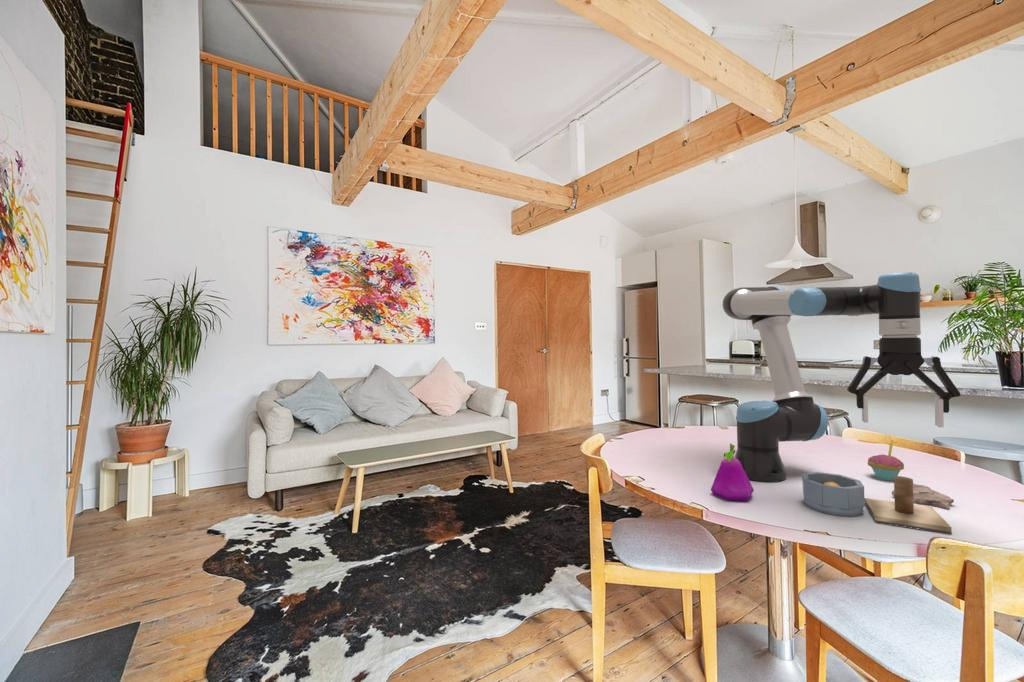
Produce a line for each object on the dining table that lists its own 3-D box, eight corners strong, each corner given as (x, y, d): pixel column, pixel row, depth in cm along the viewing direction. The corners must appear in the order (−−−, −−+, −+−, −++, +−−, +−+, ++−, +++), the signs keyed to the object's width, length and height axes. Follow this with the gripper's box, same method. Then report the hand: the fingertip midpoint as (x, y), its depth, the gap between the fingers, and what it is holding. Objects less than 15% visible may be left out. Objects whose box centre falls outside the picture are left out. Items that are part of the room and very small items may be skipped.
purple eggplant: (703, 490, 125) (702, 439, 125) (738, 488, 126) (737, 437, 126) (725, 504, 114) (724, 448, 114) (764, 502, 115) (762, 447, 115)
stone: (955, 500, 114) (955, 490, 114) (952, 513, 106) (952, 502, 106) (897, 489, 123) (897, 479, 123) (890, 500, 115) (890, 490, 115)
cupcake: (890, 474, 135) (889, 436, 135) (912, 483, 126) (911, 442, 126) (861, 473, 136) (860, 436, 136) (881, 482, 127) (880, 443, 127)
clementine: (822, 500, 110) (822, 483, 110) (820, 494, 114) (820, 478, 114) (844, 503, 108) (843, 486, 108) (841, 497, 111) (841, 481, 111)
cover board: (875, 520, 101) (874, 482, 101) (864, 501, 112) (863, 467, 112) (951, 531, 94) (950, 491, 94) (931, 510, 105) (930, 474, 105)
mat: (875, 522, 101) (875, 520, 101) (864, 503, 112) (864, 501, 112) (951, 534, 94) (951, 531, 94) (931, 513, 105) (931, 510, 105)
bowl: (805, 510, 108) (804, 483, 108) (801, 495, 119) (801, 470, 119) (867, 520, 102) (867, 491, 102) (858, 502, 113) (857, 476, 113)
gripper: (837, 338, 106) (839, 422, 107) (979, 335, 94) (980, 431, 94) (833, 337, 113) (834, 417, 113) (965, 335, 100) (966, 425, 100)
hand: (901, 424), depth 103 cm, fingers open, 13 cm apart
